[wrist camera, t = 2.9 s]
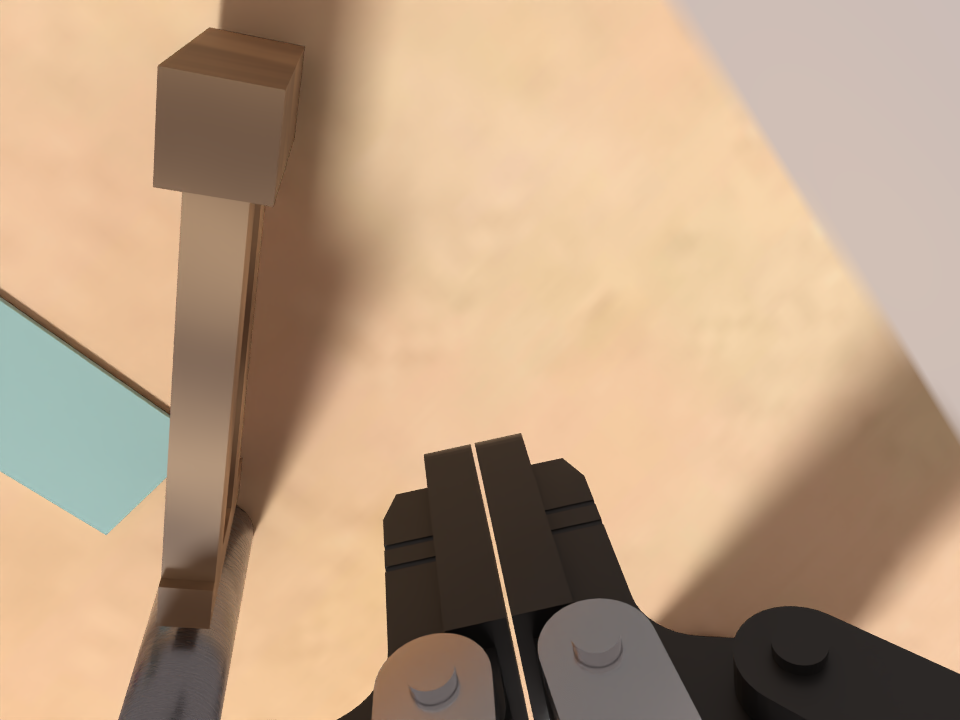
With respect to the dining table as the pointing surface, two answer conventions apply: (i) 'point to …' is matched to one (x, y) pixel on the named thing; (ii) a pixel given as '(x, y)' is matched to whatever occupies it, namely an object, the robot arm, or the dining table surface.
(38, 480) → the open mat
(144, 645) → the gatepost
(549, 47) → the dining table surface
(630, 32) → the dining table surface
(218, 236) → the gate
